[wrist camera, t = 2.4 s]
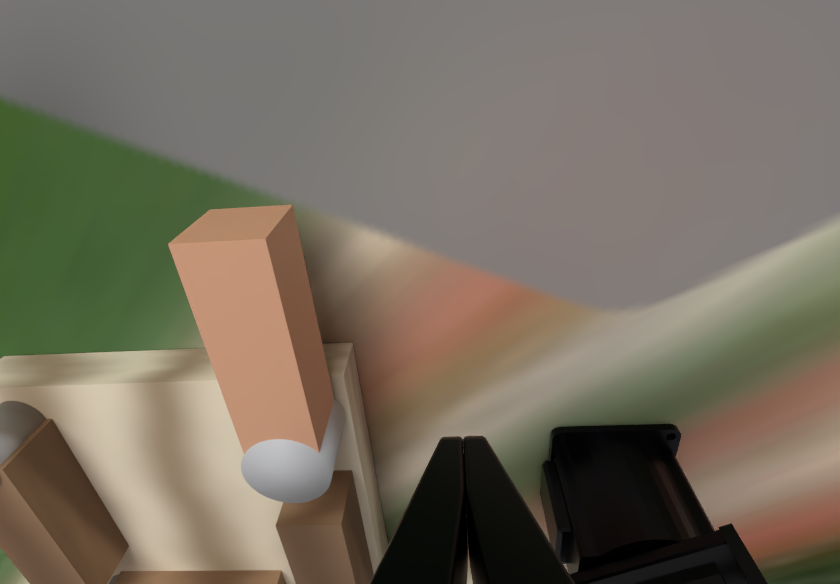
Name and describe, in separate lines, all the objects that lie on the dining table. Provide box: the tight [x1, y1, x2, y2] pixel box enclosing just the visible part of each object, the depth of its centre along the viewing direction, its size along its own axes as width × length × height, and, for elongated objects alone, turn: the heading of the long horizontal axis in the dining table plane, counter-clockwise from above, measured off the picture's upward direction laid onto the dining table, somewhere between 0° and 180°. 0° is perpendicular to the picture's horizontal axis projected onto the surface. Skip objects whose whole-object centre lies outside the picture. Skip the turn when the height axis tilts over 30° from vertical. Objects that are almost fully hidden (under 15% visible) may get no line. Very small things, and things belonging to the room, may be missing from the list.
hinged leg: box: [168, 205, 345, 503], centre depth 19 cm, size 12×4×3 cm, turn 4°
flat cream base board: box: [0, 343, 388, 584], centre depth 26 cm, size 18×18×6 cm
